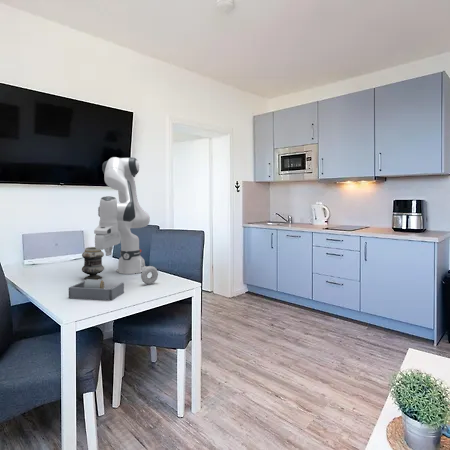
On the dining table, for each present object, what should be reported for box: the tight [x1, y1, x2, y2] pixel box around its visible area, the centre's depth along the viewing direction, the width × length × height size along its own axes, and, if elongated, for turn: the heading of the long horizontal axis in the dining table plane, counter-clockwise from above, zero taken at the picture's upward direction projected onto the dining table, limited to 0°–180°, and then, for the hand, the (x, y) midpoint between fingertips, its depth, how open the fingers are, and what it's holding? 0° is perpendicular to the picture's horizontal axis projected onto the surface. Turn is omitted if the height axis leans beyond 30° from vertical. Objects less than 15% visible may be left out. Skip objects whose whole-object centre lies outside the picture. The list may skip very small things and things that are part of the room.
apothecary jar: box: [81, 246, 105, 281], centre depth 189 cm, size 12×12×18 cm
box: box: [68, 280, 125, 301], centre depth 156 cm, size 13×21×5 cm, turn 82°
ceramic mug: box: [84, 279, 105, 289], centre depth 159 cm, size 11×8×8 cm
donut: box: [140, 265, 159, 285], centre depth 178 cm, size 10×4×10 cm, turn 132°
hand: (108, 255), depth 167 cm, fingers closed
